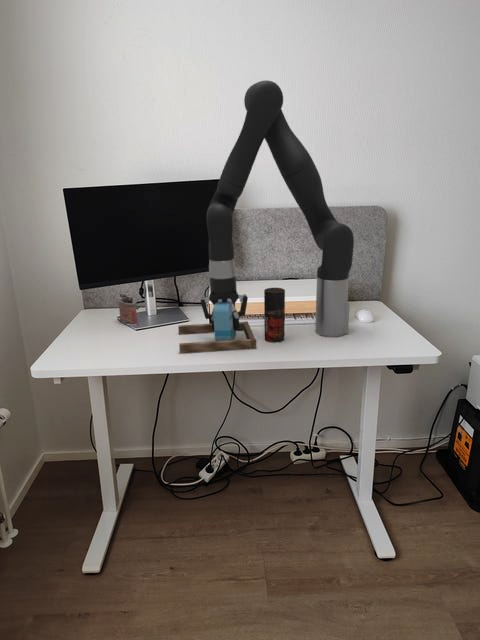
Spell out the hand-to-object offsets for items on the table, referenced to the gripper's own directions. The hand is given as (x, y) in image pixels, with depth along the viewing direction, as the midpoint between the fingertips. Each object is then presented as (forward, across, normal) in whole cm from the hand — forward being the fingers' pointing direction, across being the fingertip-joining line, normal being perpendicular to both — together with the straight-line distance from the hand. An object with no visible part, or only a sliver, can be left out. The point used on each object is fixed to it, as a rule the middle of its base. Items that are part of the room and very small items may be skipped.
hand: (225, 330), depth 151 cm
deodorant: (+4, -14, +2) cm, 15 cm away
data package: (+3, 0, 0) cm, 3 cm away
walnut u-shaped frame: (+3, +4, 0) cm, 5 cm away
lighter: (+2, +30, -21) cm, 37 cm away
